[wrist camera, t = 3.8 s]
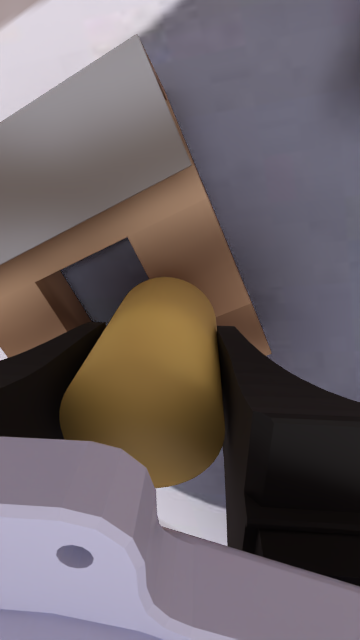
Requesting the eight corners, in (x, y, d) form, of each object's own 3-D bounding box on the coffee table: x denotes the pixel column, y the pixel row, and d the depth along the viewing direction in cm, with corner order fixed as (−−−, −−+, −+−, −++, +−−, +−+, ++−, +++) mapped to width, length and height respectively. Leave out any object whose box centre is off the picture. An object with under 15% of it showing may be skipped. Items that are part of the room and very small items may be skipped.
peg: (222, 282, 12) (237, 368, 7) (209, 371, 14) (213, 496, 9) (118, 271, 13) (53, 347, 7) (117, 361, 14) (64, 478, 9)
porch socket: (262, 329, 21) (288, 399, 14) (77, 398, 24) (31, 480, 18) (164, 89, 16) (137, 33, 10) (-51, 216, 19) (-179, 238, 13)
